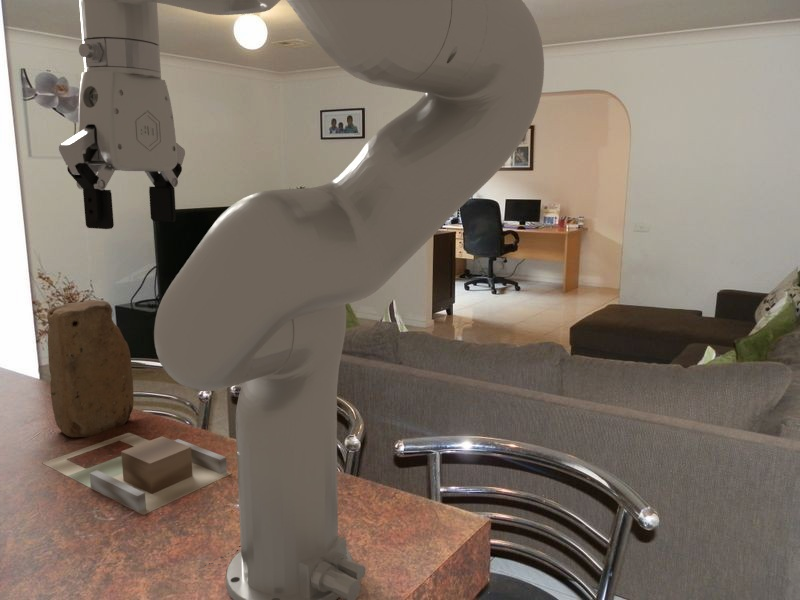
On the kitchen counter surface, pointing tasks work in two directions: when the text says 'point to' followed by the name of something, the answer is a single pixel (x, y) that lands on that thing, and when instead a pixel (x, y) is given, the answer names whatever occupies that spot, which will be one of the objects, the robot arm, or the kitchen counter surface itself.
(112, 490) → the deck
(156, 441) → the walnut block
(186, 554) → the kitchen counter surface
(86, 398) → the block
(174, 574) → the kitchen counter surface
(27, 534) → the kitchen counter surface
